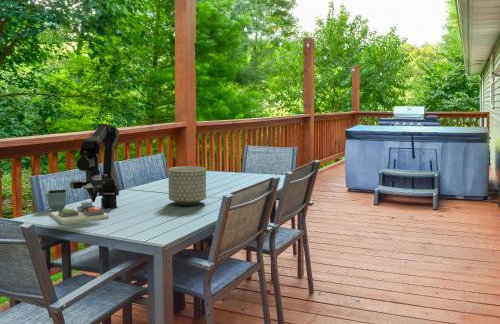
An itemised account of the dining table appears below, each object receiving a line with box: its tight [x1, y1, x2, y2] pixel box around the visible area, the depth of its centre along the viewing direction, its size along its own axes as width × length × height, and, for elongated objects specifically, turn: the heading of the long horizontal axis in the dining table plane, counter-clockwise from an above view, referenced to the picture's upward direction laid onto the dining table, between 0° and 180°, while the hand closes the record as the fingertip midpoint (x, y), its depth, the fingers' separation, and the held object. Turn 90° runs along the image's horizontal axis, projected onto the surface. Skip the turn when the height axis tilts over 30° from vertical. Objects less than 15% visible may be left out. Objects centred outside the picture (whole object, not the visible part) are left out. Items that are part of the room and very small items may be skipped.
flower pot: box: [46, 189, 68, 212], centre depth 245 cm, size 9×9×9 cm
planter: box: [167, 165, 207, 206], centre depth 258 cm, size 19×19×18 cm
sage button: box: [61, 207, 74, 214], centre depth 227 cm, size 5×5×2 cm
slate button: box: [80, 200, 93, 209], centre depth 237 cm, size 5×5×2 cm
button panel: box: [50, 204, 110, 225], centre depth 230 cm, size 20×20×3 cm
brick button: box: [88, 206, 100, 213], centre depth 229 cm, size 5×5×2 cm
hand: (93, 202), depth 228 cm, fingers closed
